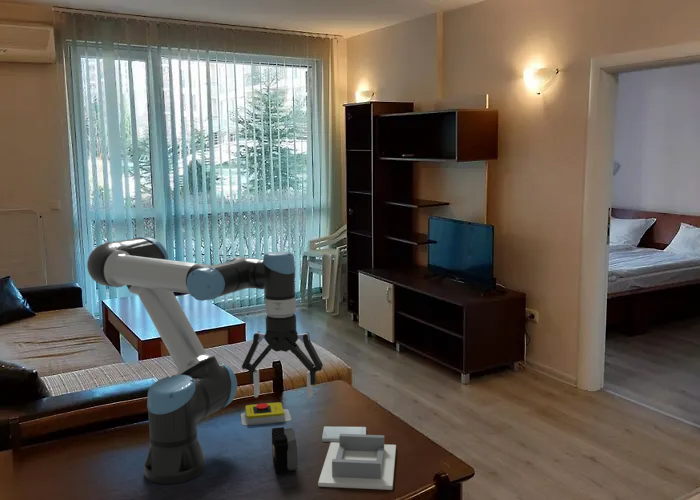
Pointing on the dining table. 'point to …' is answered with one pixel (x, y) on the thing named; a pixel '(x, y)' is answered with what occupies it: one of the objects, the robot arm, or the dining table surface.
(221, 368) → the robot arm
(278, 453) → the cpu cooler
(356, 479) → the housing
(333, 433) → the hard drive
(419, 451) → the dining table surface
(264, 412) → the emergency button
